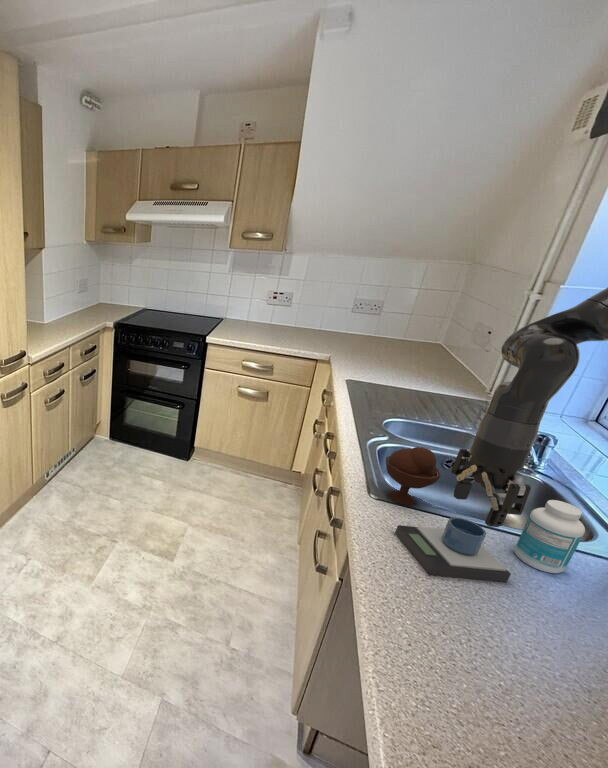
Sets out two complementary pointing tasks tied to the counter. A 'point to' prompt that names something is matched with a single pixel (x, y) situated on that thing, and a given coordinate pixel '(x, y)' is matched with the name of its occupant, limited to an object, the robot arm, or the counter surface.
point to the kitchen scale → (449, 556)
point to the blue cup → (463, 536)
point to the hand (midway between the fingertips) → (474, 511)
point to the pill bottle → (550, 536)
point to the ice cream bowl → (411, 471)
